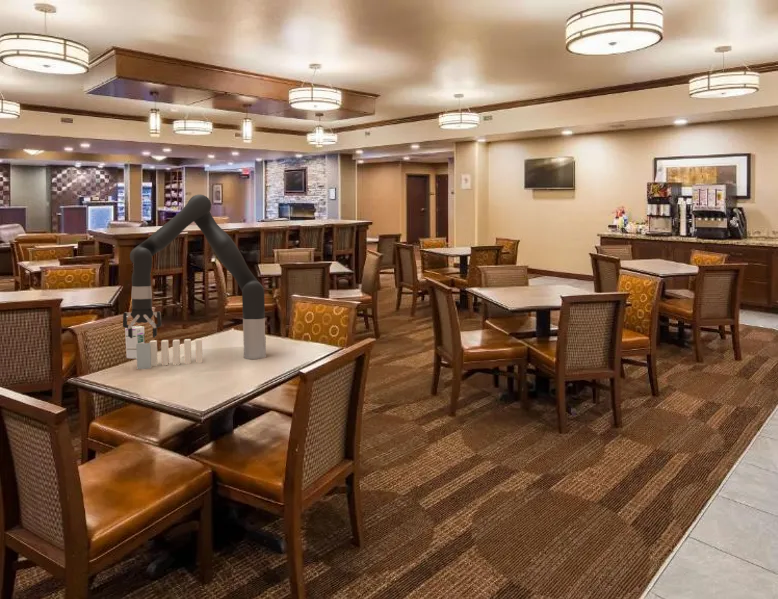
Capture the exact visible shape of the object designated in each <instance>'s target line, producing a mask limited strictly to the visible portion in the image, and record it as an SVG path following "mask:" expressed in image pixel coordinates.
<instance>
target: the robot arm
mask: <svg viewBox="0 0 778 599" xmlns="http://www.w3.org/2000/svg"><path fill="white" fill-rule="evenodd" d="M211 209H212V202H211V200H210V198H209V197H208V196H206V195H204V194H195V195H193V196H192V197H190V198H189V199H188V201H187V202H186V205H185V206H184V207H183V208H182V209H181V210H180V211H178V213H177V214H176V215H174V217H172V218H171V219H170V220H168V221H167V222H166V223H164V225H162V226H161V227H160V228H159V229H157V230H155V232H154V233H153V234H151V235H149V237H148V238H147V239H145V240H144V241H143V242H141V243H140V244H138V245H137V246H135V247H134V248H133V249H132V250H131V251H130V254H129V259H130V261H131V263H132V264H133V273H132V275H131V296H130V297H131V312H127V311H125V312H123V314H122V327H123V328H124V329H125V328H127V329H128V336H129V337H130V338H133V329H132V327H133V326H134V325H135V324H136V323H138V324H141V323H143V324H146V323H148V324H149V325H151V327H152V338H154V339H155V338H156V337H157V336H158V328H160V327H162V314H161V311H160V310H159V311H153V295H152V294H153V293H152V292H153V291H152V279H151V277H152V276H151V272H152V267H153V256H154V255H156V254H157V253H159V252H161V251H163V250H165V248H166V247H168V246H169V245H170V244H171V243H172V242H173V241H175V240H176V238H177V237H178V236H179V235H181V233H182V232H183V231H184V230H185V229H186V228H187V227H189V226H190V225H191V224H193V222H194V224H195V225H196V226H197V227H198V229H199V230H200V231H201V233H202V234H203V235H204V237H205V239H206V241H207V243H208V245H209V246H210V248H211V249H212V251H213V252H214V254H215V255H216V257H217V258H218V260H219V261H220V263H221V264H222V265H223V266H224V268H225V269H226V270H227V271H228V272H229V273H230V274H231V276H232V277H233V278H234V280H235V281H236V283H237V285H238V286H239V288H240V290H241V292H242V293H241V298H242V299H241V301H242V303H241V304H242V306H241V307H242V330H243V331H242V336H243V337H242V339H243V341H242V342H243V358H244V359H246V360H260V359H265V358H267V348H266V345H267V344H266V343H267V342H266V322H265V320H266V316H265V315H266V311H265V310H266V309H265V308H266V307H265V301H266V300H265V288H264V285H262V283H261V282H260V281H259V280H258V279H257V278H256V277H255V276H254V274H253V273H252V271H251V270H250V268H249V266H248V265H247V263H246V261H245V260H246V259H244V256H243V254H242V253H241V251H240V249H239V248H238V246H237V245H236V242H234V240H233V238H232V237H230V235H229V234H228V233H227V232H226V231H225V230H223V228H221V226H219V225H218V223H217V222H216V220H215V218H214V217H213V215H212V214H211ZM130 316H131V318H132V320H131V321H130V324H128V318H130ZM153 316H154V317H155V318H156V320H157V324H156V323H155V321H154V320H153V319H152V317H153Z"/></svg>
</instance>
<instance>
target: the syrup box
mask: <svg viewBox="0 0 778 599" xmlns="http://www.w3.org/2000/svg"><path fill="white" fill-rule="evenodd" d="M132 329H133V338H130V337H129V336H128V329H127V328H124V335H125V337H124V338H125V353H126V359H136V360H137V350H136V344H142V343H146V337H145V326H144V325H143V326H142V325H135V326H134V325H133V326H132Z"/></svg>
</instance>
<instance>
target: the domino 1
mask: <svg viewBox="0 0 778 599" xmlns="http://www.w3.org/2000/svg"><path fill="white" fill-rule="evenodd" d="M136 350H137V359H136V369H137V370H148V369H149V370H151V369H152V366H151V346H150V343H149V342H147V343H146V342H145V343H142V344H136Z"/></svg>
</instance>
